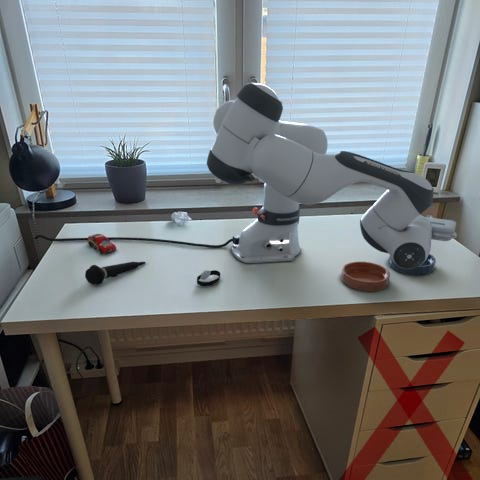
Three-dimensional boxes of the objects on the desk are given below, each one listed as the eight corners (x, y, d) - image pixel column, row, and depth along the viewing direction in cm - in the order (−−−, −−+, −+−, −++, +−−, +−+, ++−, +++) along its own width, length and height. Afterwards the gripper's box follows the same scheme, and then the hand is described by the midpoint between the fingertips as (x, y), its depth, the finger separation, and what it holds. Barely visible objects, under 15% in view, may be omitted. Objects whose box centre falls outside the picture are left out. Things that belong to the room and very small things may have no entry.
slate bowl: (405, 278, 130) (408, 269, 128) (379, 260, 140) (381, 251, 138) (442, 272, 133) (445, 263, 132) (414, 254, 144) (416, 246, 142)
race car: (119, 253, 143) (117, 241, 141) (103, 257, 140) (101, 245, 138) (101, 240, 152) (100, 229, 150) (86, 244, 149) (84, 233, 147)
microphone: (141, 271, 138) (84, 287, 125) (137, 253, 137) (79, 267, 123) (152, 271, 135) (94, 287, 121) (148, 252, 133) (89, 266, 119)
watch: (214, 275, 130) (214, 264, 128) (224, 281, 127) (224, 270, 125) (193, 283, 126) (192, 272, 124) (203, 289, 123) (202, 278, 121)
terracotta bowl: (356, 294, 121) (358, 285, 119) (332, 274, 132) (334, 265, 130) (397, 287, 125) (399, 278, 123) (371, 268, 135) (372, 259, 134)
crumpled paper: (192, 214, 163) (174, 215, 161) (191, 225, 165) (174, 226, 163) (186, 207, 169) (169, 208, 167) (186, 218, 171) (169, 219, 169)
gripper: (460, 227, 110) (459, 210, 120) (375, 215, 116) (382, 200, 127) (453, 250, 113) (453, 232, 124) (371, 238, 119) (378, 222, 130)
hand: (416, 216), depth 125 cm, fingers closed on strawberry, 5 cm apart
